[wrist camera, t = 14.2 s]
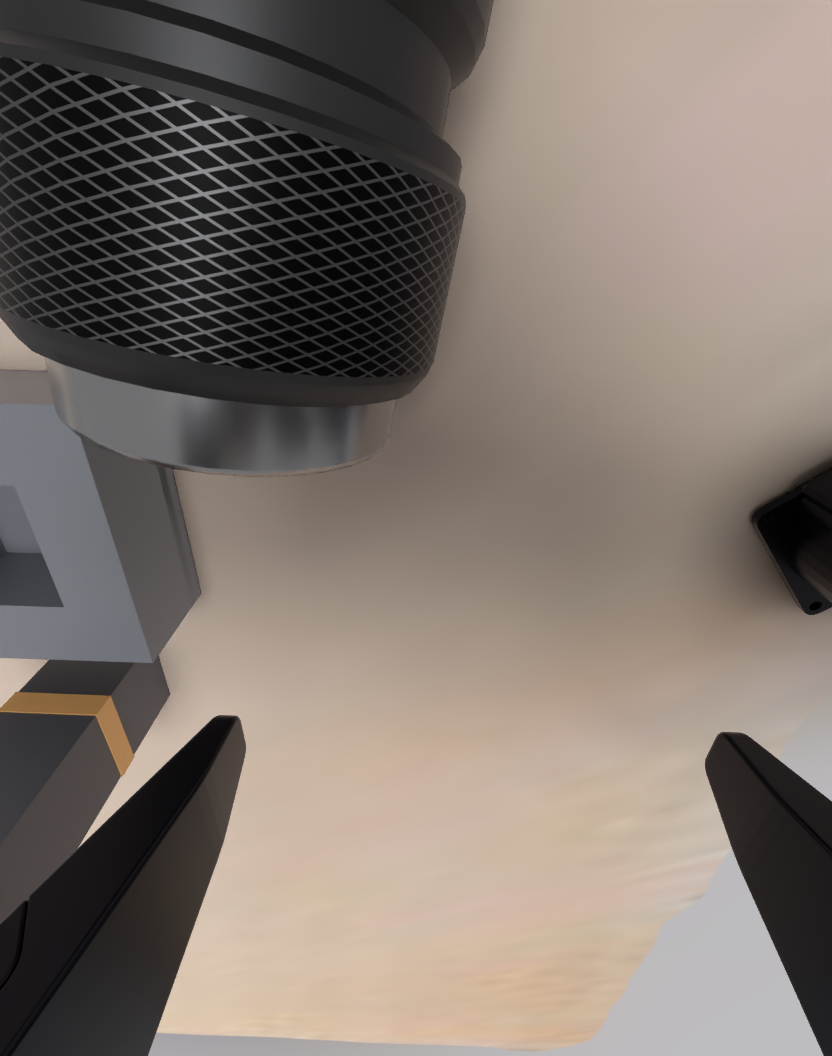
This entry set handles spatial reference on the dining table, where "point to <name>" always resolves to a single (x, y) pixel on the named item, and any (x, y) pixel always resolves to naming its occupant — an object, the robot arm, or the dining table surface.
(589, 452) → the dining table surface
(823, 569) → the robot arm
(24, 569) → the socket block
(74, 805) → the plug
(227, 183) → the black cylindrical piece
